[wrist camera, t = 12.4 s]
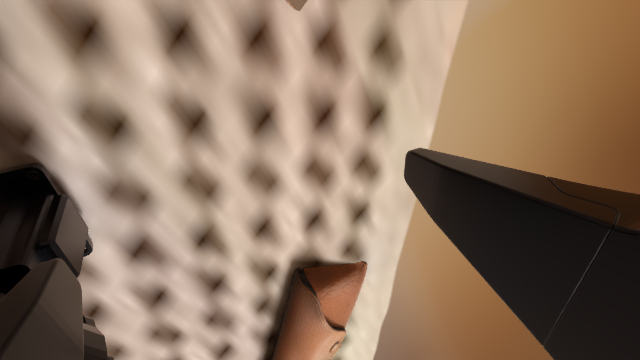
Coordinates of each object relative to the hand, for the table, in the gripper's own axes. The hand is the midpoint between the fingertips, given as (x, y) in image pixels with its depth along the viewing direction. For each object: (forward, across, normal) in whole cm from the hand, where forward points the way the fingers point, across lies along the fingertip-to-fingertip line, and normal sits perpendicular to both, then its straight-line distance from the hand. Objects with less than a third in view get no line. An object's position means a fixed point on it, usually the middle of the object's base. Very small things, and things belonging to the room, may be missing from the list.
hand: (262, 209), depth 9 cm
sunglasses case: (+14, -4, +28) cm, 31 cm away
